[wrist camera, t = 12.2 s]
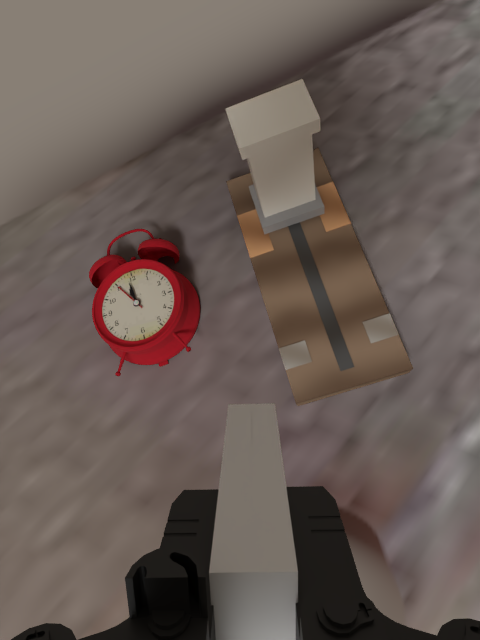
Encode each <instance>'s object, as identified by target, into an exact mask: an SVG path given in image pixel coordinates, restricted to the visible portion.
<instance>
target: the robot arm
mask: <svg viewBox="0 0 480 640" xmlns="http://www.w3.org/2000/svg"><path fill="white" fill-rule="evenodd" d="M125 582H126V590H127V598H128V606H129V615H130V617H129V618H128V619H127V620H125V621H124V622H122V623H121V624H119V625H118V626H115V627H113V628H111V629H108V630H106V631H103V632H100V633H97V634H94V635H91V636H88V637H85V638H82V639H78V640H480V621H476V620H473V619H453V620H451V621H449V622H448V623H446V624H444V625H442V627H441V629H440V631H439V633H438V635H437V636H436V635H433V634H429V633H426V632H423V631H419V630H416V629H413V628H409V627H406V626H404V625H401V624H399V623H396V622H394V621H393V620H391V619H389V618H388V617H386V616H384V615H383V614H382V613H381V612H380V611H378V609H377V608H376V607H375V605H374V604H373V602H372V601H371V600H370V599H369V598H367V596H366V594H365V592H364V590H363V588H362V585H361V582H360V578H359V576H358V572H357V569H356V565H355V562H354V559H353V556H352V552H351V549H350V546H349V543H348V539H347V536H346V533H345V531H344V526H343V523H342V520H341V519H340V513H339V510H338V507H337V503H336V500H335V499H334V498H333V497H332V496H331V495H330V493H329V492H328V491H327V490H326V489H325V488H324V487H323V486H316V487H286V481H285V474H284V467H283V459H282V452H281V445H280V438H279V430H278V423H277V416H276V408H275V404H231V405H228V413H227V422H226V431H225V439H224V448H223V457H222V465H221V474H220V482H219V490H184V491H183V492H182V493H181V494H180V495H179V496H178V498H177V499H176V500H175V501H174V502H173V503H172V506H171V509H170V513H169V517H168V523H167V524H166V528H165V531H164V537H163V539H162V542H161V546H160V549H156V550H154V551H152V552H150V553H148V554H146V555H144V556H143V557H141V558H140V559H139V560H138V561H137V562H136V563H135V564H133V565H132V567H131V569H130V570H129V572H128V574H127V576H126V577H125ZM11 640H76V638H75V636H74V634H73V632H72V630H71V629H69V628H67V627H65V626H63V625H62V624H48V623H45V624H42V625H39V626H36V627H32V628H29V629H27V630H26V631H24V632H22V633H21V634H19V635H18V636H16V637H14V638H13V639H11Z"/></svg>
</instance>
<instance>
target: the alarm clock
mask: <svg viewBox="0 0 480 640" xmlns="http://www.w3.org/2000/svg"><path fill="white" fill-rule="evenodd" d="M137 231H143V232H146V233H148V234H149V235H150V237H151V238H152V239H149V240H145V241H143V242H142V243H141V244H140V245H139V248H138V255H139V257H140V258H141V260H135V259H136V257H132V258H131V260H133V261H130V262H127V261H126V260H125V259H124V258H122V257H121V256H118V255H110V248H111V246H112V244H113V243H114V242H115V241H116V240H118V239H119V238H121V237H123V236H125V235H127V234H130V233H133V232H137ZM163 256H170V257H173V258H174V261H175V263H177V262H178V261H179V257H180V255H179V250H178V249H177V247H176V246H175V245H174V244H173V243H171V242H169V241H167V240H163V239H161V238H159V239H154V237H153V235H152V234H151V233H150V232H149V231H147V230H145V229H135V230H131V231H128V232H125V233H123V234H121V235H119V236H118V237H116V238H115V239H114V240H113V241H112V242H111V243H110V244H109V246H108V250H107V256H105V257H103V258H101V259H99V260H98V261H97V262H95V263H94V265H93V266H92V267H91V269H90V272H89V278H90V281H91V282H92V284H93V285H94V286H95V287H96V288H98V289H97V292H96V294H95V297H94V300H93V306H92V317H93V322H94V325H95V328H96V329H97V331H98V333H99V335H100V336H101V338H102V339H103V340H104V341H105V342H106V343H108V344H109V346H110V347H111V349H112V350H113V351H114V352H115V353H116V354H117V355H118V356H120V357H121V361H120V365H119V369H118V372H116V376H120V374H121V373H120V370H121V367H122V364H123V362H124V360H126V361H129V362H131V363H134V364H139V365H152V364H158V363H159V366H160V367H161V366H163V365H166V364H169V363H168V359H170V358H172V357H174V356H175V355H177V354H178V353H179V352H180V351H182V350H183V349H184V348H186V351H188V352H189V351H190V350H191V348H190V347H188V346H187V344H188V343H189V342H190V340H191V339H192V337H193V335H194V334H195V331H196V329H197V326H198V323H199V318H200V302H199V298H198V295H197V292H196V290H195V288H194V287H193V285H192V284H191V283H190V281H189V280H188V279H187V278H186V277H184V276H183V275H182V274H180V273H179V272H177V271H174V270H172V269H170V268H169V267H168V266H166V265H164V264H162V263H160V262H157V261H158V259H159V258H161V257H163Z"/></svg>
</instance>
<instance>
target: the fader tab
mask: <svg viewBox="0 0 480 640" xmlns="http://www.w3.org/2000/svg"><path fill="white" fill-rule="evenodd" d="M226 113H227V116H228V119H229V122H230V125H231V128H232V131H233V134H234V137H235V140H236V143H237V146H238V149H239V152H240V155H241V158H242V160H244V159H247V162H248V165H249V169H250V173H251V176H252V180H253V183H254V184H253V185H251V186H249V190H250V193H251V196H252V199H253V202H254V205H255V208H256V211H257V214H258V217H259V220H260V223H261V226H262V229H263V232H264V234H267V233H270V232H273V231H276V230H279V229H282V228H285V227H287V226H290V225H293V224H296V223H299V222H302V221H305V220H307V219H310V218H313V217H316V216H319V215H322V214H324V204H323V202H322V200H321V197H320V195H319V192H318V190H317V187H316V185H315V179H314V161H313V143H312V134H314V133H317V132H320V131H321V129H320V117H319V115H318V113H317V110H316V108H315V106H314V104H313V101H312V99H311V97H310V95H309V92H308V90H307V88H306V86H305V84H304V81H303V79H301V80H298V81H296V82H293V83H290V84H288V85H285V86H283V87H280V88H277V89H275V90H272V91H270V92H267V93H264V94H262V95H259V96H257V97H254V98H252V99H249V100H246V101H244V102H241V103H239V104H236V105H233V106H231V107H228V108H226Z"/></svg>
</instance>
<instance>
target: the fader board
mask: <svg viewBox="0 0 480 640" xmlns="http://www.w3.org/2000/svg"><path fill="white" fill-rule="evenodd" d="M313 161H314V179H315V185H316V187H317V190H318V192H319V195H320V197H321V200H322V202H323V204H324V214H322V215H319V216H316V217H313V218H310V219H307V220H305V221H302V222H299V223H296V224H293V225H290V226H287V227H285V228H282V229H279V230H276V231H273V232H270V233H267V234H264V232H263V229H262V226H261V223H260V220H259V217H258V214H257V211H256V208H255V205H254V202H253V199H252V196H251V193H250V190H249V186H251V185H253V184H254V183H253V180H252V176H251V173H248V174H245V175H243V176H240V177H237V178H234V179H232V180H229V181H226V182H227V185H228V188H229V192H230V195H231V198H232V201H233V204H234V208H235V211H236V214H237V217H238V220H239V224H240V227H241V230H242V233H243V236H244V239H245V243H246V246H247V249H248V252H249V255H250V258H251V262H252V265H253V268H254V271H255V274H256V278H257V281H258V284H259V287H260V290H261V293H262V297H263V300H264V303H265V306H266V309H267V313H268V316H269V319H270V322H271V325H272V328H273V332H274V335H275V338H276V341H277V344H278V348H279V351H280V354H281V357H282V360H283V364H284V367H285V370H286V373H287V376H288V379H289V383H290V386H291V389H292V392H293V395H294V398H295V402H296V404H297V406H300V405H303V404H307V403H310V402H313V401H317V400H320V399H323V398H327V397H330V396H333V395H337V394H340V393H343V392H347V391H350V390H353V389H357V388H360V387H363V386H366V385H370V384H373V383H376V382H380V381H383V380H386V379H390V378H393V377H396V376H400V375H403V374H406V373H409V372H410V371H411V370H412V369H413V367H412V365H411V362H410V360H409V358H408V355H407V353H406V351H405V348H404V346H403V344H402V341H401V339H400V337H399V334H398V331H397V329H396V327H395V324H394V322H393V320H392V317H391V315H390V313H389V311H388V309H387V306H386V304H385V302H384V299H383V297H382V295H381V293H380V290H379V288H378V286H377V283H376V281H375V279H374V276H373V274H372V272H371V269H370V267H369V265H368V262H367V260H366V258H365V255H364V253H363V251H362V248H361V246H360V244H359V241H358V239H357V237H356V234H355V232H354V230H353V227H352V225H351V222H350V220H349V218H348V215H347V213H346V211H345V208H344V206H343V204H342V201H341V199H340V197H339V194H338V192H337V190H336V187H335V185H334V183H333V181H332V179H331V176H330V174H329V172H328V169H327V167H326V165H325V162H324V160H323V158H322V155H321V153H320V151H319V148H316V149H313Z"/></svg>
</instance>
